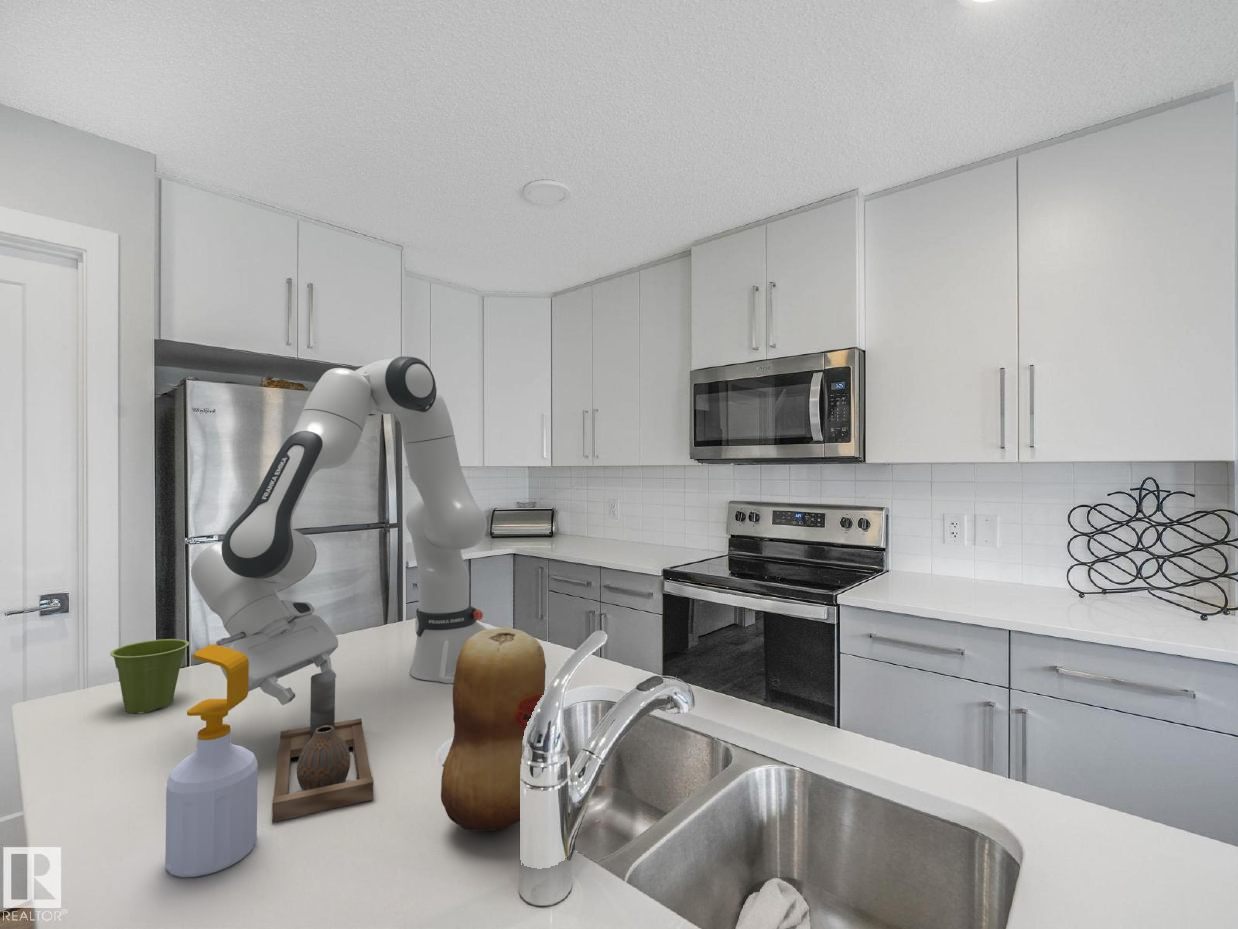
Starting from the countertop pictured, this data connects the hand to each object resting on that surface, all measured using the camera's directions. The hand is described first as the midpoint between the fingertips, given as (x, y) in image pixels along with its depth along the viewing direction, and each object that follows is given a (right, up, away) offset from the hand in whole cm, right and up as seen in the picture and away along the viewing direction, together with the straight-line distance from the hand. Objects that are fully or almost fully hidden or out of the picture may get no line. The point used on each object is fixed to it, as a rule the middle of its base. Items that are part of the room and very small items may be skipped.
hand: (311, 690), depth 99 cm
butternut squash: (+34, -10, -20) cm, 41 cm away
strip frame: (+6, -10, -8) cm, 13 cm away
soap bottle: (+2, -10, -27) cm, 29 cm away
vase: (+8, -10, -12) cm, 18 cm away
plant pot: (-39, -9, +16) cm, 43 cm away
